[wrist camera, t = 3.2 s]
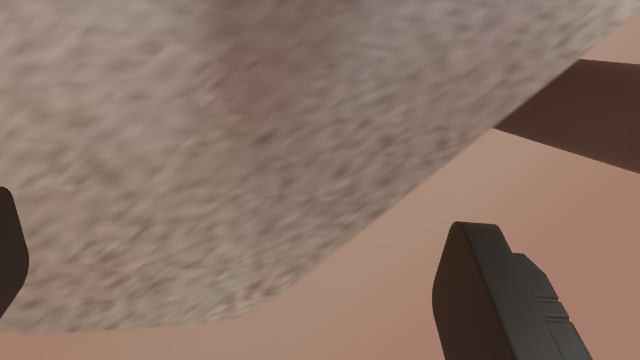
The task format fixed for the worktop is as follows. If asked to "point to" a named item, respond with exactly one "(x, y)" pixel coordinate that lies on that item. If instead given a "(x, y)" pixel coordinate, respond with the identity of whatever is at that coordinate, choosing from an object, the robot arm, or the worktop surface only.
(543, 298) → the robot arm
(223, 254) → the worktop surface
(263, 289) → the worktop surface
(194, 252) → the worktop surface
